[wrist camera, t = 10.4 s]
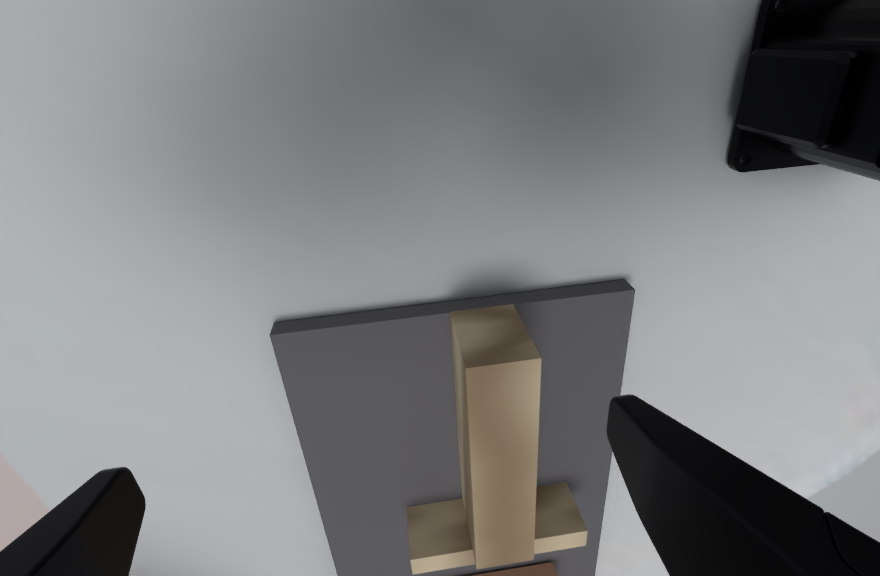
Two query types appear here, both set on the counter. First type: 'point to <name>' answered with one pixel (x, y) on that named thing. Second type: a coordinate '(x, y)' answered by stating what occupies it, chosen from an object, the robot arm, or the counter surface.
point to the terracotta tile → (526, 571)
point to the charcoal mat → (445, 416)
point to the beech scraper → (495, 457)
